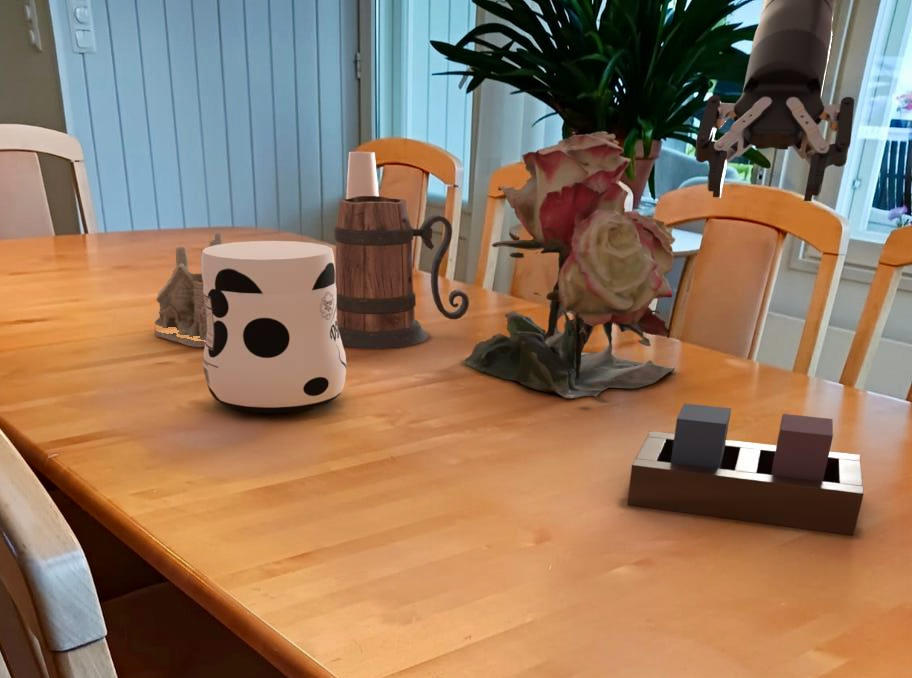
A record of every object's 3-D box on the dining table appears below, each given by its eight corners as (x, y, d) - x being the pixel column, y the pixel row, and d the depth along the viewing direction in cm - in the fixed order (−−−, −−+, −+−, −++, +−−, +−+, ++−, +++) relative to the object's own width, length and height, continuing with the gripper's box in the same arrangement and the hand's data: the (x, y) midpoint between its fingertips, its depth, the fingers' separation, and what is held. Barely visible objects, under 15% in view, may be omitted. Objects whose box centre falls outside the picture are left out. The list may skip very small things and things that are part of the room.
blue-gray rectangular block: (673, 480, 99) (684, 403, 95) (718, 486, 98) (731, 408, 94) (665, 499, 95) (676, 418, 91) (712, 505, 93) (726, 424, 89)
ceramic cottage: (164, 322, 160) (154, 225, 152) (263, 328, 160) (259, 232, 152) (136, 351, 147) (124, 246, 139) (244, 357, 147) (238, 253, 139)
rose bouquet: (587, 410, 120) (612, 138, 105) (446, 361, 141) (450, 128, 126) (722, 380, 134) (761, 135, 119) (575, 340, 154) (593, 126, 139)
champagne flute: (342, 290, 189) (337, 152, 177) (355, 284, 194) (351, 150, 182) (374, 293, 187) (372, 153, 175) (386, 287, 192) (385, 152, 181)
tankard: (327, 349, 146) (321, 205, 136) (317, 326, 161) (311, 193, 151) (478, 345, 150) (484, 204, 140) (455, 322, 165) (459, 193, 155)
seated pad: (767, 492, 96) (782, 413, 92) (815, 498, 95) (832, 418, 91) (764, 512, 92) (780, 429, 88) (814, 518, 91) (833, 435, 87)
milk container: (374, 398, 124) (372, 247, 115) (285, 432, 111) (274, 266, 102) (272, 377, 132) (262, 235, 123) (177, 407, 119) (159, 251, 110)
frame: (853, 535, 87) (863, 493, 85) (627, 504, 93) (631, 465, 91) (850, 493, 97) (860, 454, 95) (644, 467, 102) (649, 430, 100)
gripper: (717, 26, 96) (687, 162, 92) (871, 25, 92) (847, 167, 88) (714, 88, 103) (686, 217, 99) (857, 89, 99) (834, 223, 95)
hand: (762, 193), depth 94 cm, fingers open, 8 cm apart
